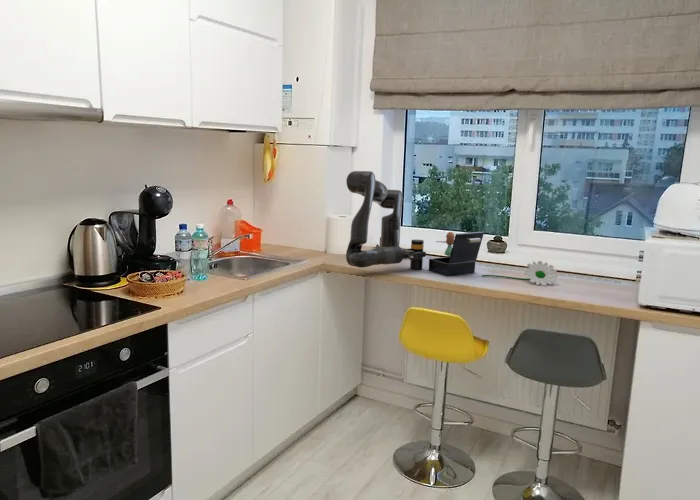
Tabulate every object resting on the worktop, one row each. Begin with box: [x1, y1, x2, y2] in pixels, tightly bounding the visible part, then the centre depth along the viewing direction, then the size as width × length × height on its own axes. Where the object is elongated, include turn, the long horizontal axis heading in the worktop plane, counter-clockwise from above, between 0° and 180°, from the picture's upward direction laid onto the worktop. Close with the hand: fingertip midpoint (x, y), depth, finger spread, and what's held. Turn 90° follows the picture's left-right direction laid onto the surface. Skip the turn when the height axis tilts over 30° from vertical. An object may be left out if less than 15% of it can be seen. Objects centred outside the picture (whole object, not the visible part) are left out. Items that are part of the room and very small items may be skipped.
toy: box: [435, 231, 455, 257], centre depth 254 cm, size 13×4×15 cm, turn 84°
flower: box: [482, 260, 559, 287], centre depth 224 cm, size 13×6×30 cm
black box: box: [428, 256, 476, 277], centre depth 236 cm, size 13×16×5 cm
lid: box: [448, 231, 485, 264], centre depth 226 cm, size 13×16×4 cm
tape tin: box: [409, 239, 425, 271], centre depth 239 cm, size 6×6×13 cm
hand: (419, 252), depth 239 cm, fingers open, 8 cm apart
